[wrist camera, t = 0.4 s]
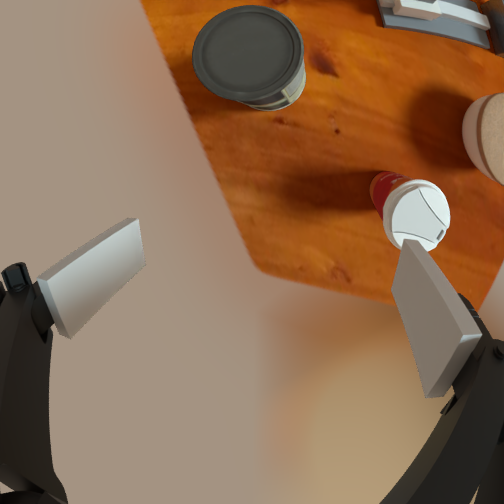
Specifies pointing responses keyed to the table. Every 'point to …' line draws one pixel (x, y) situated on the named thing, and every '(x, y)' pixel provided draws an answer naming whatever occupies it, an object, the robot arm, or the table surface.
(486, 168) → the lidded bowl
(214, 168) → the table surface
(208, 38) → the coffee can
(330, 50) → the table surface
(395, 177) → the paper cup
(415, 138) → the table surface
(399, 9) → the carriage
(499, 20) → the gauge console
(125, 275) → the robot arm
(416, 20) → the rail bed
